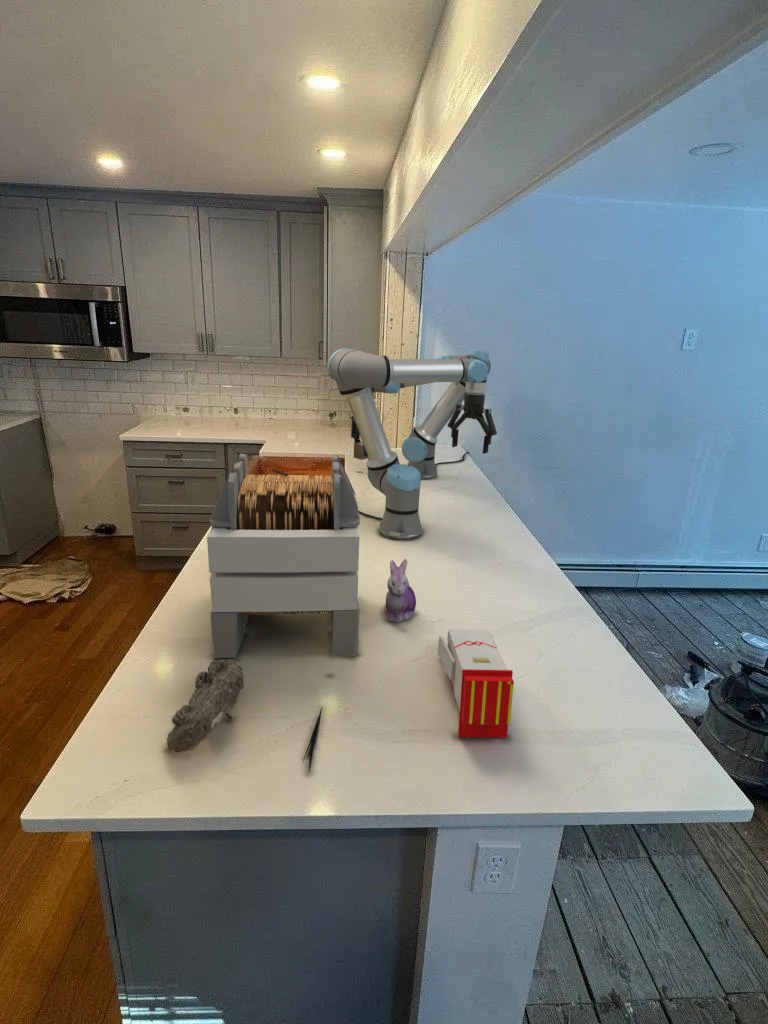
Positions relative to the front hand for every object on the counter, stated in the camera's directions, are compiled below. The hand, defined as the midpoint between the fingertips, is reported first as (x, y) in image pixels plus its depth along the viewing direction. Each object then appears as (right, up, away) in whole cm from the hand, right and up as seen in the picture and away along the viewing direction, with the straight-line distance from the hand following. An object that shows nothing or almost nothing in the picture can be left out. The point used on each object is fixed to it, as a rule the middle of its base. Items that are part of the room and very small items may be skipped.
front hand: (469, 449), depth 216 cm
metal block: (-43, +1, +47) cm, 63 cm away
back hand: (-43, +3, +46) cm, 63 cm away
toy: (-15, -61, -98) cm, 117 cm away
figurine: (-29, -50, -69) cm, 90 cm away
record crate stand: (-56, -51, -74) cm, 106 cm away
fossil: (-65, -63, -108) cm, 141 cm away
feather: (-45, -64, -108) cm, 133 cm away
